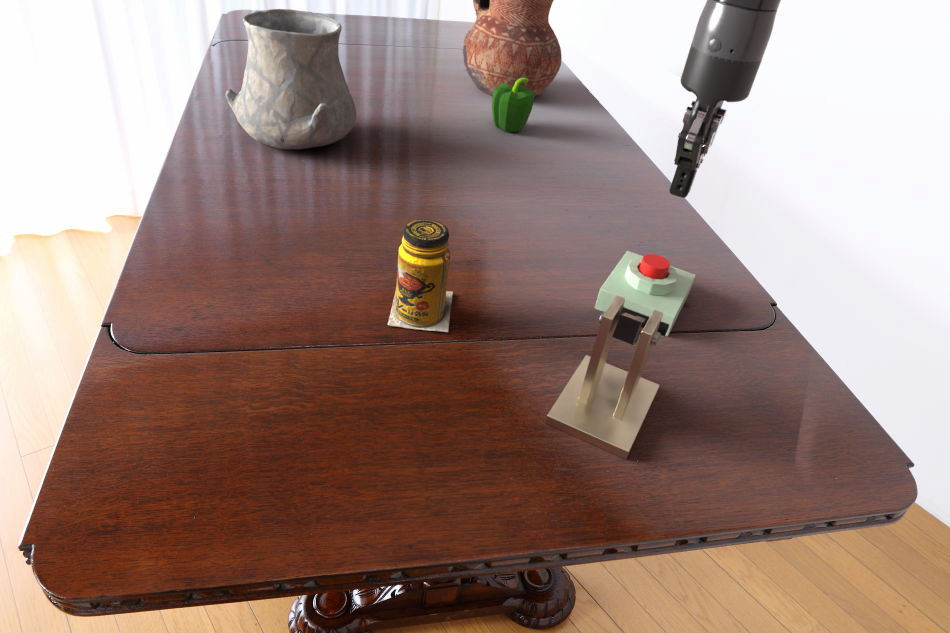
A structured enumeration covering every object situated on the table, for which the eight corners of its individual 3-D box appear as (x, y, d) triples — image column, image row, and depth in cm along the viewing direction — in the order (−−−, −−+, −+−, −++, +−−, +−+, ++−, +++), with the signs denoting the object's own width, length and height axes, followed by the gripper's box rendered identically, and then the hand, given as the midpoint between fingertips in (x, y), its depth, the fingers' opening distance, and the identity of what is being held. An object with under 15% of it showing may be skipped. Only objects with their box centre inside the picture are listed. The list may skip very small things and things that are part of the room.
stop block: (621, 269, 98) (630, 239, 95) (689, 293, 95) (700, 263, 92) (594, 308, 89) (603, 277, 86) (667, 337, 86) (679, 305, 83)
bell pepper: (492, 134, 133) (499, 84, 127) (485, 119, 140) (491, 69, 134) (533, 137, 135) (542, 87, 129) (524, 121, 141) (533, 73, 135)
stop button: (643, 261, 92) (646, 250, 90) (669, 271, 90) (673, 260, 89) (635, 273, 89) (639, 262, 88) (662, 283, 88) (666, 272, 87)
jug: (559, 86, 163) (582, -29, 148) (547, 114, 146) (571, -12, 131) (470, 68, 166) (483, -46, 151) (448, 94, 149) (460, -31, 134)
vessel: (248, 108, 129) (239, -6, 117) (365, 123, 130) (367, 12, 118) (208, 154, 112) (193, 26, 100) (343, 171, 113) (344, 47, 101)
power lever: (614, 320, 79) (621, 301, 79) (663, 339, 77) (671, 319, 77) (594, 329, 68) (602, 307, 67) (651, 352, 66) (660, 329, 65)
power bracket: (583, 362, 80) (609, 271, 73) (657, 392, 78) (691, 301, 70) (544, 423, 71) (569, 327, 64) (626, 460, 69) (662, 364, 61)
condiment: (387, 326, 81) (392, 240, 74) (396, 286, 88) (401, 204, 81) (447, 333, 81) (458, 248, 74) (452, 293, 88) (462, 211, 81)
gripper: (753, 70, 66) (696, 224, 77) (771, 44, 76) (719, 184, 87) (678, 51, 69) (633, 204, 79) (705, 28, 79) (662, 167, 89)
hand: (678, 193), depth 83 cm, fingers closed
